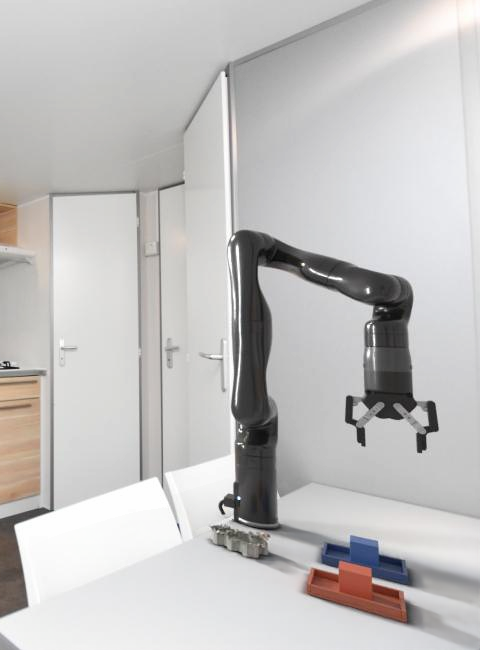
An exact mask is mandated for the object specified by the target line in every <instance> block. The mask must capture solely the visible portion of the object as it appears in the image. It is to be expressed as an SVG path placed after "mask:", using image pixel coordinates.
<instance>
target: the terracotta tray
mask: <svg viewBox="0 0 480 650" xmlns="http://www.w3.org/2000/svg"><path fill="white" fill-rule="evenodd" d="M309 571H310V572H309V573H308V578H307V581H306V594H307V595H309V596H313V597H317V598H320V599H323V600H326V601H331V602H333V603H338V604H341V605H344V606H348V607H351V608H355V609H358V610H361V611H365V612H368V613H372V614H375V615H379V616H381V617H385V618H389V619H393V620H396V621H399V622H402V623H408V617H407V616H408V615H407V607H406V599H405V594H404V590H401V589H400V590H399V589H397V588H392V587H389V586H386V585H381V584H378V583H374V582H372V594H373V601H370V600H366V599H363V598H359V597H356V596H352V595H348V594H345V593H341V592H339V573H337V572H336V573H335V572H332V571H327V570H324V569H320V568H317V567H313V566H311V567H310V569H309Z"/></svg>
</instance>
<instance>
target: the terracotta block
mask: <svg viewBox="0 0 480 650" xmlns="http://www.w3.org/2000/svg"><path fill="white" fill-rule="evenodd" d="M338 574H339V592H341V593H345V594H348V595H352V596H356V597H359V598H363V599H366V600H370V601H373V594H372V583H373V576H372V569H371V568H368V567H364V566H360V565H356V564H351V563H347V562H343V561H339V567H338Z"/></svg>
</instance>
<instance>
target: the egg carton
mask: <svg viewBox="0 0 480 650" xmlns="http://www.w3.org/2000/svg"><path fill="white" fill-rule="evenodd" d="M208 527H210V529H211V541H212V544H214V545H217V546H223V547H227V548H226V549H227V550H228V551H231V552H233V551H234V552H239V553H241V554H242V556H243V557H248V558H254V559H258V558H259V557H260V555H263V556H268V555H269V544H268V542H267V541H268V540H270V539H271V535H270V534H269V533H267V532H262V531H256V533H255V532H253V531H245V530H243V529H239V528H231V526H230V525H227V524H224V525H223V523H220V524H213V525H210V524H208Z"/></svg>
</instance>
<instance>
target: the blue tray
mask: <svg viewBox="0 0 480 650" xmlns="http://www.w3.org/2000/svg"><path fill="white" fill-rule="evenodd" d="M320 557H321V558H320V559H321V561H320V563H321V564H324V565H328V566H332V567H335V568H339V561H343V562H347V563H351V564H356V565H360V566H364V567H368V568H371V569H372V577H376V578H379V579H384V580H388V581H391V582H395V583H400V584H403V585H408V586H409V575H408V574H409V573H408V568H407V561H406V560H405V559H401V558H397V557H393V556H388V555H384V554H380V553H379V568H378V567H374V566H370V565H366V564H362V563H358V562H354V561H350V546H345V545H341V544H336V543H332V542H327V541H324V542H323V546H322V551H321V554H320Z"/></svg>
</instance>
